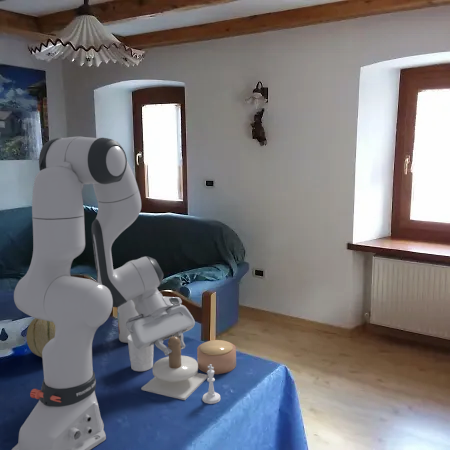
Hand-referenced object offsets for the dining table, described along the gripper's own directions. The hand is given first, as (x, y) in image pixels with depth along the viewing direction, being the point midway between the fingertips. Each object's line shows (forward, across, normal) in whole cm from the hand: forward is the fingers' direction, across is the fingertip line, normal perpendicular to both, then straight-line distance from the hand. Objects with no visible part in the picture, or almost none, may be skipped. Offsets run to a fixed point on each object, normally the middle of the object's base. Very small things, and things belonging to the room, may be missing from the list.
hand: (176, 351), depth 137 cm
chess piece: (+17, +1, -2) cm, 17 cm away
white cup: (-4, -1, +19) cm, 19 cm away
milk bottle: (-19, +9, +33) cm, 39 cm away
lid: (+4, 0, +5) cm, 6 cm away
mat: (+7, 0, +7) cm, 10 cm away
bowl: (+7, +16, +7) cm, 19 cm away
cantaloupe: (-24, -16, +39) cm, 49 cm away
